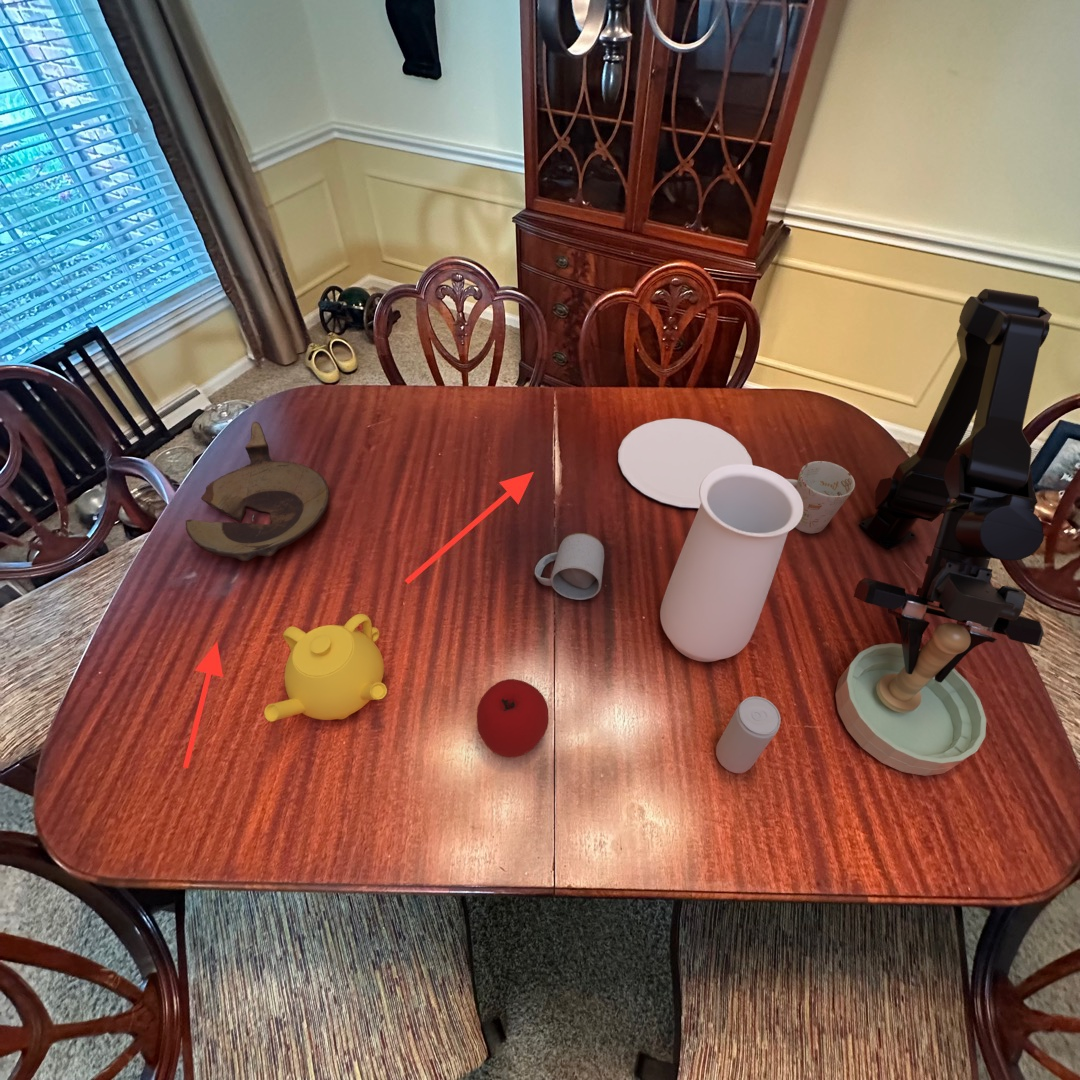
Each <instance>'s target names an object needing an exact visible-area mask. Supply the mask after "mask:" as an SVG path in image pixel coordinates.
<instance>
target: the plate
mask: <svg viewBox="0 0 1080 1080" xmlns="http://www.w3.org/2000/svg"><path fill="white" fill-rule="evenodd" d="M617 454H618V455H617V458H618V459H617V464H618V466H619V468H620V471H621V473H622V475H623V476H624V478H625V479H626V480H627V481H628V483H629V484H630V485H631V487H633V488H635V490H637V491H638V492H640V493H641V494H642V495H644V496H646V497H648V498H650V499H652V500H654V501H657V502H659V503H661V504H664V505H667V506H673V507H677V508H679V509H680V508H681V509H695V510H696V509H697V510H698V509H699V507H700V505H701V501H700V497H699V489H700V485H701V483H702V481H703V479H704V478H705V477H706V476H707V475H708V474H709V473H711V472H712V471H714V470H716V469H718V468H720V467H724V466H728V465H735V464H745V465H753V466H754V464H753V460H752V457H751V455H750V454H749V451H747V449H746V447H745V446H744V444H742V443H741V442H740V441H739V440H738V439H737V438H736V437H734V436H733V435H731V434H730V433H728V432H727V431H725V430H723V429H721V428H720V427H717V426H715V425H712V424H710V423H707V422H703V421H699V420H695V419H690V418H663V419H656V420H654V421H650V422H646V423H643V424H641V425H639V426H638V427H636V428H634V429H632V430H631V431H630V432H628V434H627V435H626V436H624V438H623V439H622V441H621V443H620V446H619V448H618V450H617Z"/></svg>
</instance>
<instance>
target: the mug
mask: <svg viewBox="0 0 1080 1080" xmlns="http://www.w3.org/2000/svg"><path fill="white" fill-rule="evenodd" d="M785 479H786V480H787V481H789V482H790V483H791V484H792V485H793V486H794V487H795V489H796V490H797V491H798V493H799V495H800V497H801V499H802V502H803V515H802V518H801V520H800V522H799V523H798V524H797V526H795V527H794V528H795V529H796V530H798V531H800V532H802V533H806V534H818V533H821V532H822V531H823V530H825V528H826V527H827V526H828V524H829V523H830V522H831V521H832V519H833V518H834V517H835V515H836V514H837V513H838V511H839V510H840V509H841V507H843V505H844V504H845V502H846V501H847V500H848V499H849V497H850V496H851V495H852V493H853V492H854V490H855V487H856V482H855V479H854V476H853V475H852V474H851V473H850V471H848V470H847V469H846V468H844V467H842V466H841V465H839V464H838V463H837V464H836V463H834V462H830V461H826V460H824V461H823V460H816V461H811V462H808V463H806V464H804V465H803V466H802V468H801V469H800V471H799V474H798V478H797V479H794V478H793V479H792V478H785Z"/></svg>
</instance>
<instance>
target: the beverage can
mask: <svg viewBox="0 0 1080 1080" xmlns="http://www.w3.org/2000/svg"><path fill="white" fill-rule="evenodd" d="M781 720H782V719H781V714H780V711H779V710H778V707H777V706H776V705H774V703H772V702H771V701H770V700H769V699H767V698H765V697H762V696H757V695H755V696H748V697H747V698H745V699H743V700H742V701H741V702H740V703H739V704H738V706H737V707H736V709H735V711H734V713H733V715H732V716H731V718H730V720H729V722H728V724H727V726H726V727H725V730H724V731H723V733H722V734H721V736H720V738H719V740H718V742H717V744H716V746H715V755H716V758H717V761H718V762H719V764H720V765H721V766H722V767H723V768H724V769H725V770H727V771H728V772H730V773H734V774H743V773H746V772H747V771H749V770H750V769H751V768H752V767H753V766H754V764H755V763H756V762H757V760H758V759H759V757H761V755H762V754H763V752H764V751H765V749H766V748H767V746H768V745H769V744H770V743H771V742H772V740H773V739H774V737H775V735H777V733H778V732H779V729H780V725H781Z"/></svg>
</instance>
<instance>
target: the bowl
mask: <svg viewBox="0 0 1080 1080" xmlns="http://www.w3.org/2000/svg"><path fill="white" fill-rule="evenodd" d="M921 649H922V648H920V649H919V651H920V650H921ZM904 667H905V664H904V657H903V650H902V643H894V642H889V643H881V644H874V645H871V646H869V647H867V648H865V649H864V650H861V651H860V652H859V653H858V654H857V655H855V657H854V659H853V660H852V661H851V662H850V664H848V666H847V667H846V669H845V670H844V671H843V672H842V674H841V676H840V677H839V678H838V680H837V684H836V689H835V701H836V702H835V703H836V708H837V713H838V715H839V717H840V719H841V721H842V723H843V725H844V727H845V729H846V731H847V732H848V734H849V735H850V736H851V737H852V738H853V739H854V741H855V742H856V743H857V744H858V746H859V747H860V748H861V749H863V750H864V751H865V752H866V753H868V754H869V755H870V756H872V757H873V758H875V759H876V760H877V761H879V762H880V763H882V764H884V765H886V766H888V767H889V768H890V767H891V768H892V769H895V770H897V771H899V772H902V773H906V774H912V775H918V776H925V777H927V776H935V775H941V774H945V773H947V772H949V771H951V770H952V769H953V768H955V767H957V766H959V765H960V764H962V763H963V762H964V761H966V760H968V758H970V757H972V756H973V755H974V754H975V753H977V752H978V750H979V749H980V747H981V746H982V744H983V742H984V740H985V739H986V736H987V735H986V734H987V715H986V713H985V710H984V707H983V705H982V701H981V699H980V697H979V696H978V695H977V693H976V691H975V690H974V688H973V687H972V685H971V684H970V682H969V681H968V680H967V679H966V678H965V677H964V676H962V675H961V673H960V672H958V671H957V670H956V669H955V668H954V669H953V670H952V671H951V672H950V673H949V674H948V676H947V677H946V678H945V679H944V680H943V681H942V682H941V683H940V682H937V681H935V676H934V677H933V678H932V679H931V680H930V681H929V682H928V683H927V684H926V685H925V686H924V687H923V688H922V689H921V690H920V693H921V703H920V705H919V706H918V707H917V708H916V709H915V710H914V711H912V712H908V713H901V712H897V711H894V710H892V709H890V708H889V707H887V706H886V705H885V704H884V703H883V702H882V701H881V700H880V698H879V697H878V694H877V691H876V686H877V683H878V681H879V680H880V679H881V678H882V677H883V676H884V675H886V674H891V673H894V674H898V673H899V672H900V671H901V670H902V669H903V668H904Z"/></svg>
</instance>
